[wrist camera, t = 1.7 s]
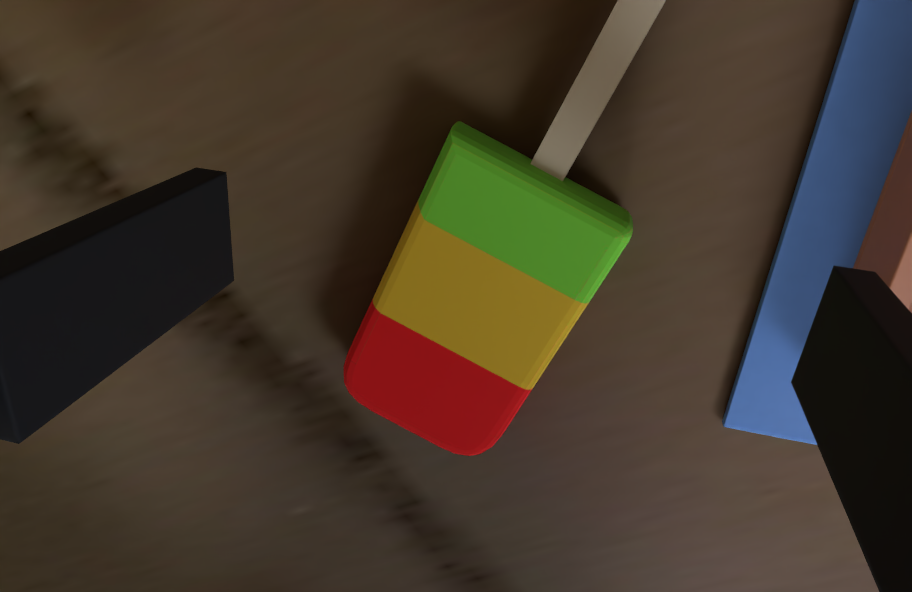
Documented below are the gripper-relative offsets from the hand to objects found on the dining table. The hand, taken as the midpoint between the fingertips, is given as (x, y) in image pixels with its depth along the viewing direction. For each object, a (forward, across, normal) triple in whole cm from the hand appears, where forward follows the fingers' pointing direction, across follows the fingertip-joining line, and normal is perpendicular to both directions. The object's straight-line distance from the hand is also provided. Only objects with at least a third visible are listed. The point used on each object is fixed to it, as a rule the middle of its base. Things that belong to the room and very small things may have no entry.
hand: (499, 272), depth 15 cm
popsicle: (+5, 0, 0) cm, 5 cm away
